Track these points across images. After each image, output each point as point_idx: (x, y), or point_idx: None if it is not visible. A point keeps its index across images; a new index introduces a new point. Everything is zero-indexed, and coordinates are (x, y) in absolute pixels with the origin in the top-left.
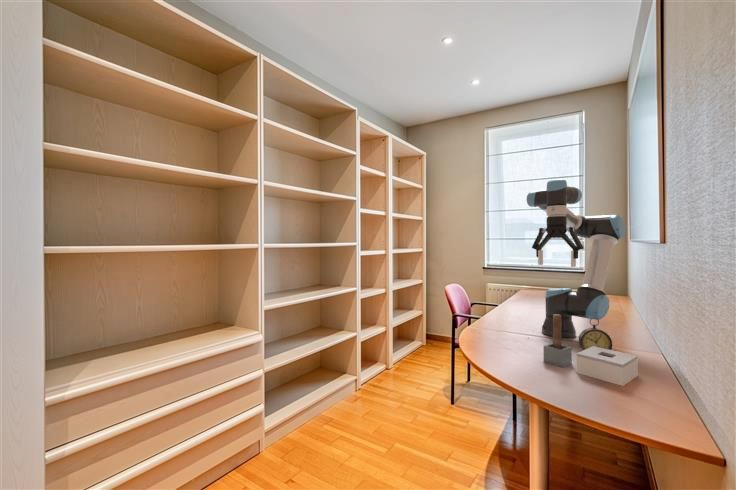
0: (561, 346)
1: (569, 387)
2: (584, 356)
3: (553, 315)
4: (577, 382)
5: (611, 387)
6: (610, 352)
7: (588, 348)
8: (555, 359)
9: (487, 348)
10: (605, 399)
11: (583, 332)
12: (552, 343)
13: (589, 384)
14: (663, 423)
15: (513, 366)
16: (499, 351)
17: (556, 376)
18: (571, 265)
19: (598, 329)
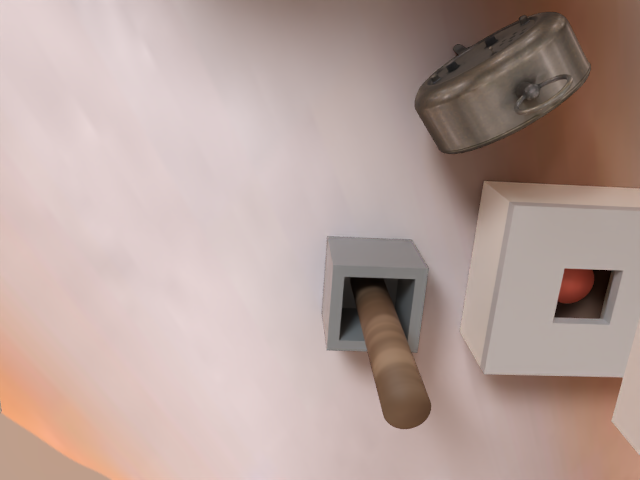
0: (382, 275)
1: (477, 465)
2: (513, 372)
3: (389, 422)
4: (486, 412)
5: None
6: (596, 252)
7: (506, 265)
8: None
9: (53, 335)
10: (576, 468)
11: (460, 128)
12: (339, 281)
13: (519, 400)
14: None
15: (266, 441)
16: (118, 331)
17: None
18: (633, 436)
19: (549, 95)
